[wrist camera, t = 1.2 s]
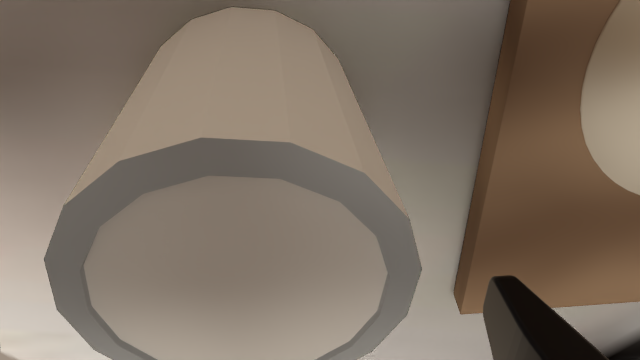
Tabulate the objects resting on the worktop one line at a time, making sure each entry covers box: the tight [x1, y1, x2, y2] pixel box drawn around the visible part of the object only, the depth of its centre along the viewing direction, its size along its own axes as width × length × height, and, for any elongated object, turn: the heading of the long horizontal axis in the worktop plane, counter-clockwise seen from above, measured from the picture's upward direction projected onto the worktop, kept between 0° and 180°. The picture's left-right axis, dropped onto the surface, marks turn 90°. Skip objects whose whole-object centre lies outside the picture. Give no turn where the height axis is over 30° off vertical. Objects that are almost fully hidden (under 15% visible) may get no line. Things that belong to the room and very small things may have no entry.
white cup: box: [44, 7, 422, 360], centre depth 13 cm, size 7×7×7 cm
